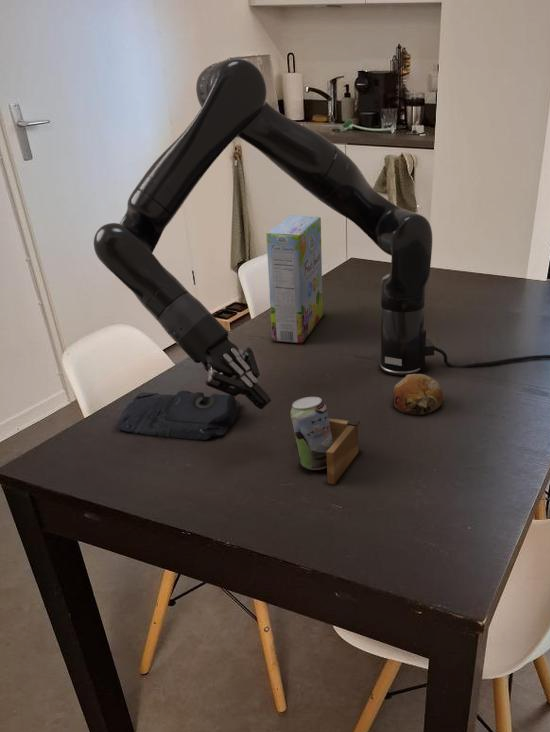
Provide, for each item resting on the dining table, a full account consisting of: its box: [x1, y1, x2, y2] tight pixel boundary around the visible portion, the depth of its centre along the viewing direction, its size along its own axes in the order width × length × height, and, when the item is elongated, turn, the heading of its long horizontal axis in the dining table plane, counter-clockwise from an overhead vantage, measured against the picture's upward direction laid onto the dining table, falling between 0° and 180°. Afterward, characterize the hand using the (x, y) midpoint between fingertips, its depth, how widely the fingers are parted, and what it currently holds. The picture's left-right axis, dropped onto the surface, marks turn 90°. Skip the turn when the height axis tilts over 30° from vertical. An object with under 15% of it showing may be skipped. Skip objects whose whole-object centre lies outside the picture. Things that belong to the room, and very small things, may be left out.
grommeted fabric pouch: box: [114, 390, 241, 441], centre depth 133 cm, size 15×22×5 cm
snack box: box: [265, 214, 324, 344], centre depth 170 cm, size 22×9×26 cm, turn 170°
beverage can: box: [290, 396, 333, 471], centre depth 116 cm, size 6×7×12 cm
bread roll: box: [392, 373, 443, 416], centre depth 137 cm, size 10×10×8 cm
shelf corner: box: [326, 417, 361, 485], centre depth 118 cm, size 12×12×6 cm
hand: (266, 404), depth 117 cm, fingers closed
